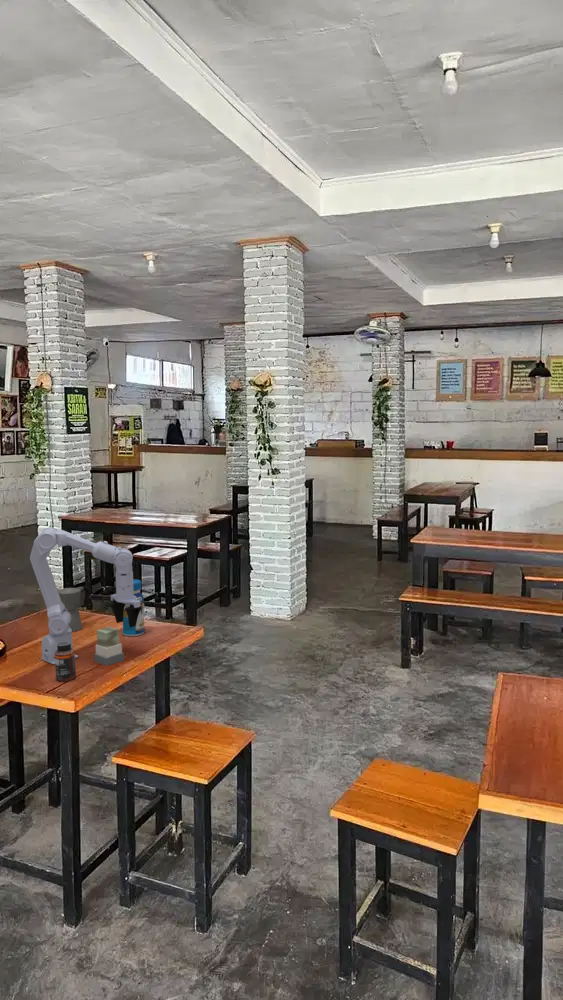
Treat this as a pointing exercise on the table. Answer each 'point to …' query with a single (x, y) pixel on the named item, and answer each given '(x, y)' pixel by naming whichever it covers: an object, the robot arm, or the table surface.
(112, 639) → the sage block
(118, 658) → the tower base
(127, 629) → the beverage bottle
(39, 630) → the table surface
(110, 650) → the tower top
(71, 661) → the supplement bottle
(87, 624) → the table surface
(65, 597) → the coffeepot
